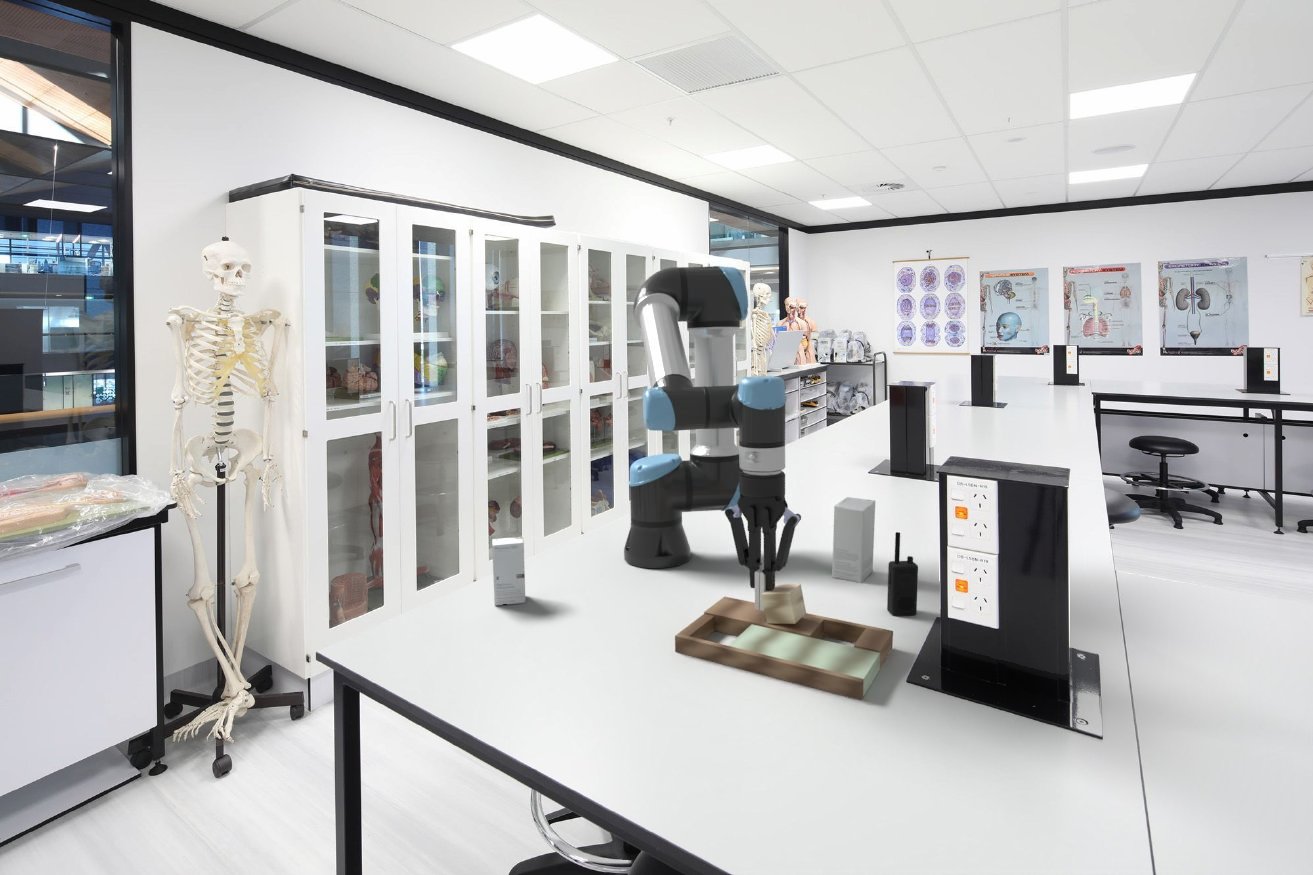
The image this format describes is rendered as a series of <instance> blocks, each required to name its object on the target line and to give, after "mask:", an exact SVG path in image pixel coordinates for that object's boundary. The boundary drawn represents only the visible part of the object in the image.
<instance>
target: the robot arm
mask: <svg viewBox="0 0 1313 875" xmlns="http://www.w3.org/2000/svg"><path fill="white" fill-rule="evenodd" d="M748 309H749V297H748V290H747V285H746V281H745V279H744V276H743V274H742V272H741V271H740V270H739V269H738V268H736V267H733V266H720V265H717V266H689V267H687V266H686V267H680V266H672V267H671V266H670V267H667V268H663V269H661V270H659V271H656V272H655V273H654V274H652V275H650V276H649V277H648V278H647V279H646V280H645V281H644V282H643V283H642V284H641V286H640V287H639V289H638V291H637V292H636V295H635V298H634V301H633V316H634V321H635V323H636V325H637V326H638V327H639V329H641V336H642V341H643V345H644V353H645V359H646V366H647V371H648V377H649V383H650V388H646V389H644V391H643V393H642V413H643V422H644V427H646V428H645V429H647V430H649V431H658V432H659V431H663V432H676V431H692V430H695V438H696V439H695V440H696V441H695V446H693V448H691V450H690V451H689V459H688V460H687V459H686V460H682V456H681V455H680V454H678V453H659V454H654V455H649V456H645V457H642V458H639V459H637V460H635V461H633V462H632V463H631V465H630V468H629V481H628V486H629V491H630V492H629V494H630V495H629V496H630V500H629V502H630V503H629V504H630V526H629V528H630V529H629V530H628V534H627V537H626V538H627V539H626V542H625V545H624V547H623V555H624V556H623V557H624V561H625V562H626V563H628V564H629V565H632V566H634V567H638V568H644V569H665V568H672V567H673V568H674V567H677V566H681V565H683V564H685V563H687V562H689V560H691V546H690V543H689V540H688V537H687V534H686V531H685V528H684V525H683V513H691V512H692V513H694V512H712V511H714V512H715V511H721V512H724V515H725V517H726V518H727V520H728V521H729V524H730V528H731V532H732V537H733V541H734V545H735V551H736V556H737V560H738V563H739V565H740V566H745V567H747V568H748V570H749V586H750V588H751V589H754V603H755V609H757V610H759V609H760V610H762V611H764V604H763V599H762V593H764V592H765V591H766V590H767V591H771V590H773V589H774V587H775V585H776V572H780V571H781V570H783V569H784V568H785V567H787V563H788V559H789V555H790V552H791V551H790V550H791V546H792V542H793V539H794V535H795V531H796V526H798V524H799V523H800V521H801V520H802V516H801V514H800V513H794V512H793V511H792V510H790V509H789V508H788V507H789V506H788V502H787V501H786V473H785V472H784V470H785V469H786V403H787V396H786V384H785V380H784V379H783V378H782V377H780V376H771V375H761V376H759V375H758V376H757V375H756V376H755V375H754V376H744V377H741V379H740V380H739V381H738V383H737V384H735V381H734V335H735V334H737V333H738V331H739V330H740V329H741V328H740V327H741V322H743V321H745V320H746V319H747V317H748V314H749V313H748ZM679 322H680V323H681V322H685V323H686V331H687V332H689V334H690V335H692V336H693V340H694V341H693V342H694V343H693V344H694V346H693V347H694V383H695V384H694V385H693V379H692V376H691V372H690V368H689V364H688V359H687V356H686V352H685V348H684V347H685V346H684V344H683V339H682V335H681V334H682V333H681V330H680V327H679V326H680V325H679ZM735 429H738V439H739V440H738V446H739V447H738V446H737V444H736V443H735ZM742 515H743V516H744V518H745V520H746V521H747V531H748V539H747V534H746V530H745V525H744V520H743V518H742V517H743V516H742ZM782 517H784V518H783V523H784V524H785V525H784V526H783V527H782V528H783V529H782V533H781V535H780V536H781V537H780V541H779V545H778V550H777V532H776V531H777V528H778V523H779V521H780V520H781V518H782ZM762 534H763V535H762ZM762 536H763V562H762ZM762 565H763V567H762ZM760 566H761V567H760Z"/></svg>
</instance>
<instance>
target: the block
mask: <svg viewBox="0 0 1313 875" xmlns="http://www.w3.org/2000/svg"><path fill="white" fill-rule="evenodd" d="M762 599H763V604H764V610H765V615H766V620H767V623H776V624H795V623H796V622H797V621H798V620H799V619H800V618H801V617H802V616H804V615H805V614H806V613H807V611H806V604H805V600H804V596H803V589H802V584H801V583H790V584H789V583H785V584H777V583H776V584H775V587H774V589H773V590H771V591H767V590H766V591H765V592H764V593H762Z"/></svg>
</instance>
